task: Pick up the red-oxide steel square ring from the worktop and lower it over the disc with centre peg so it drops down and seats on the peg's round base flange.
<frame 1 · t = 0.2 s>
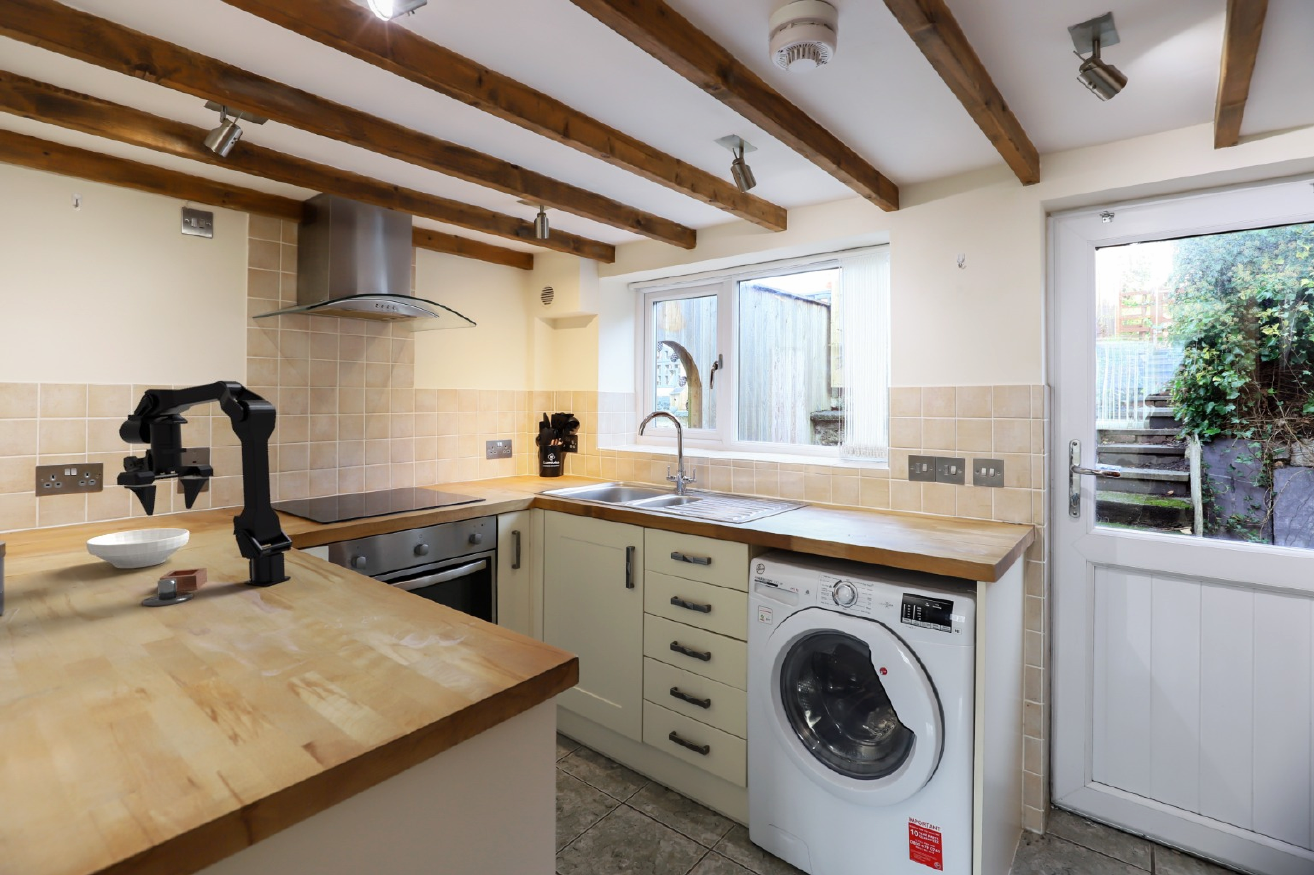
hand: (169, 512, 150), 14 cm above the worktop, fingers open, 9 cm apart
disc with centre peg: (168, 600, 131), on the worktop
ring: (184, 586, 140), on the worktop
bowl: (141, 566, 159), on the worktop
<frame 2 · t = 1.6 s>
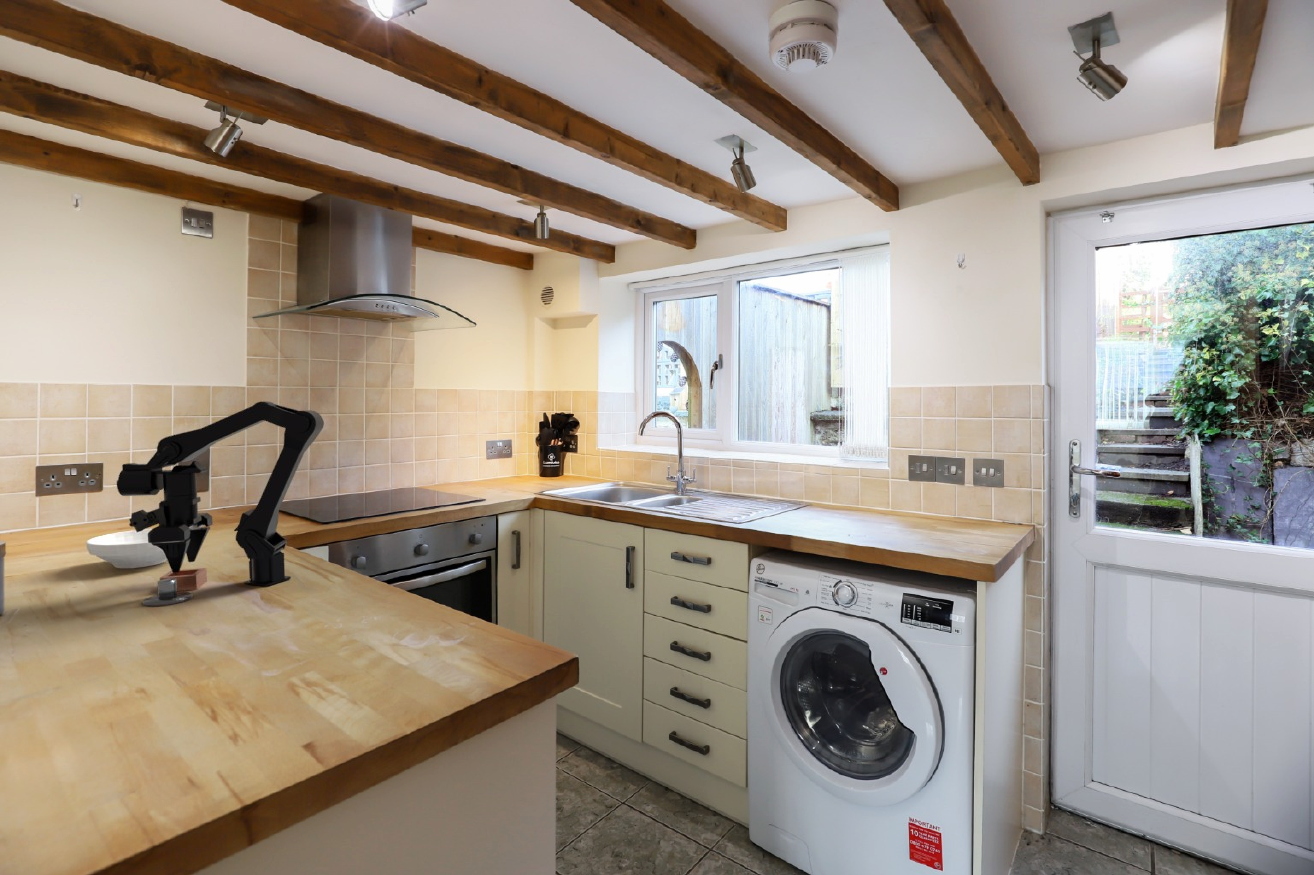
hand: (184, 566, 140), 4 cm above the worktop, fingers open, 9 cm apart
nothing on the worktop moved.
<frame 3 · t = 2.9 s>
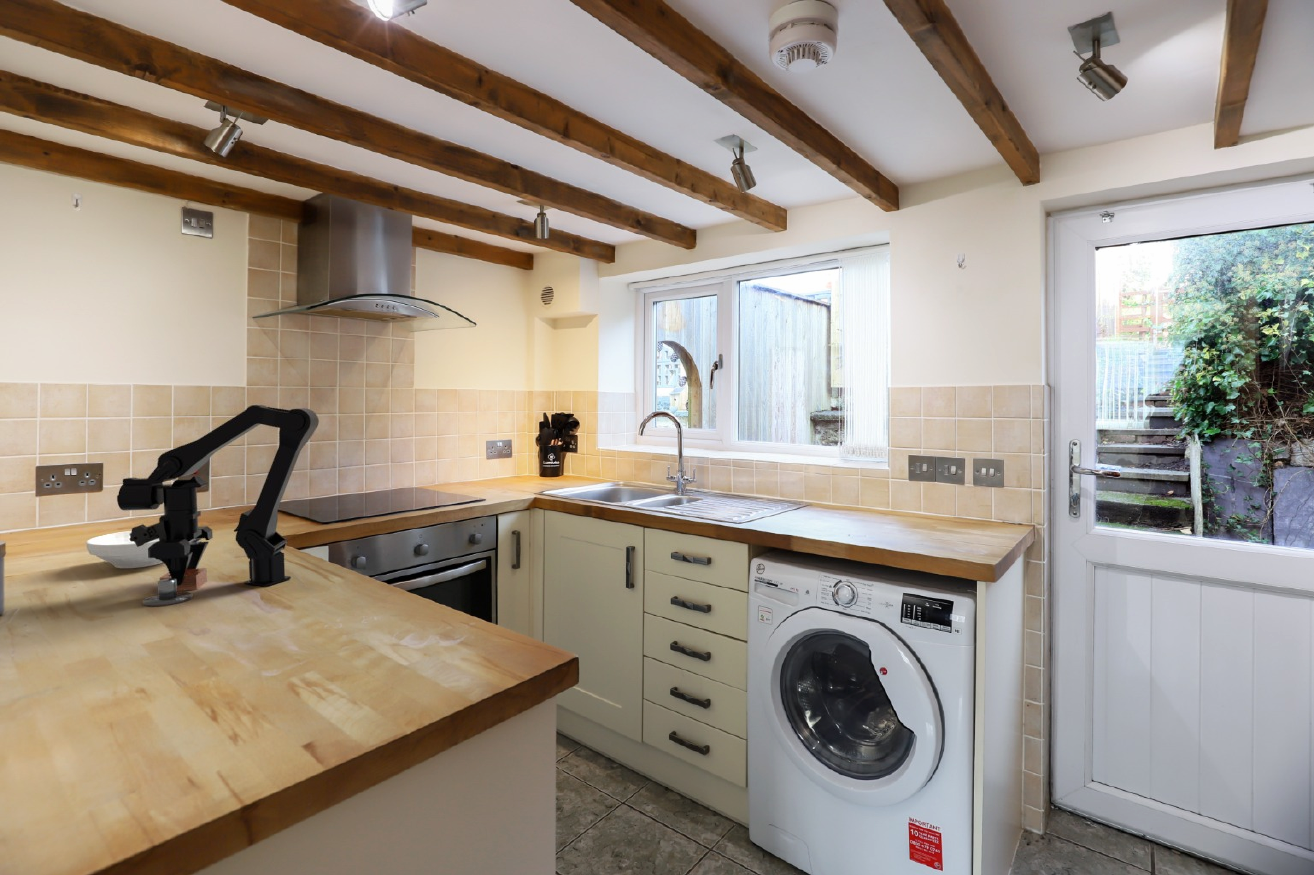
hand: (184, 581, 140), 1 cm above the worktop, fingers closed on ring, 6 cm apart
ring: (184, 586, 140), on the worktop, touching gripper
everything else where it was.
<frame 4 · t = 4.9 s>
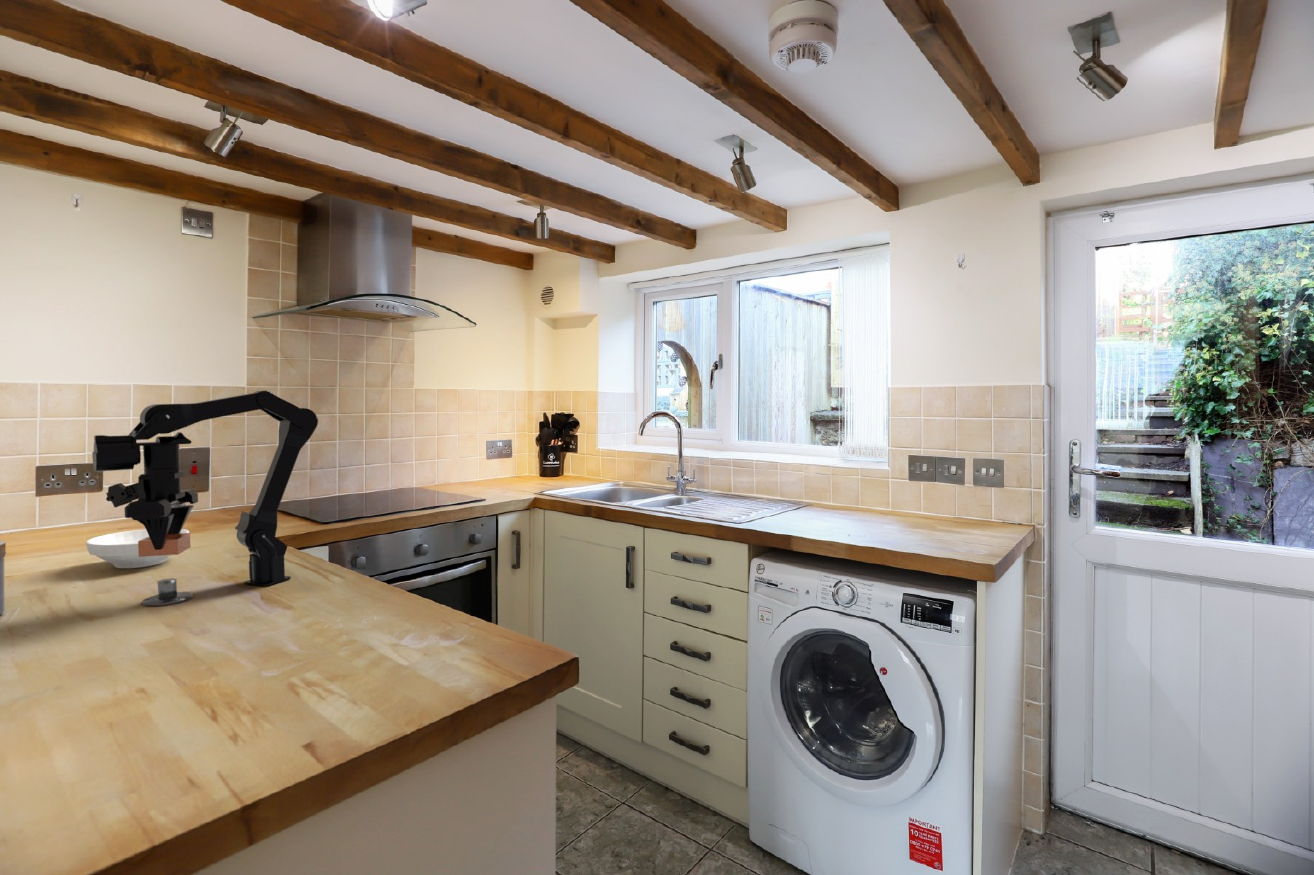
hand: (165, 545, 131), 11 cm above the worktop, fingers closed on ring, 6 cm apart
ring: (165, 551, 131), point 10 cm above the worktop, touching gripper
everything else where it was.
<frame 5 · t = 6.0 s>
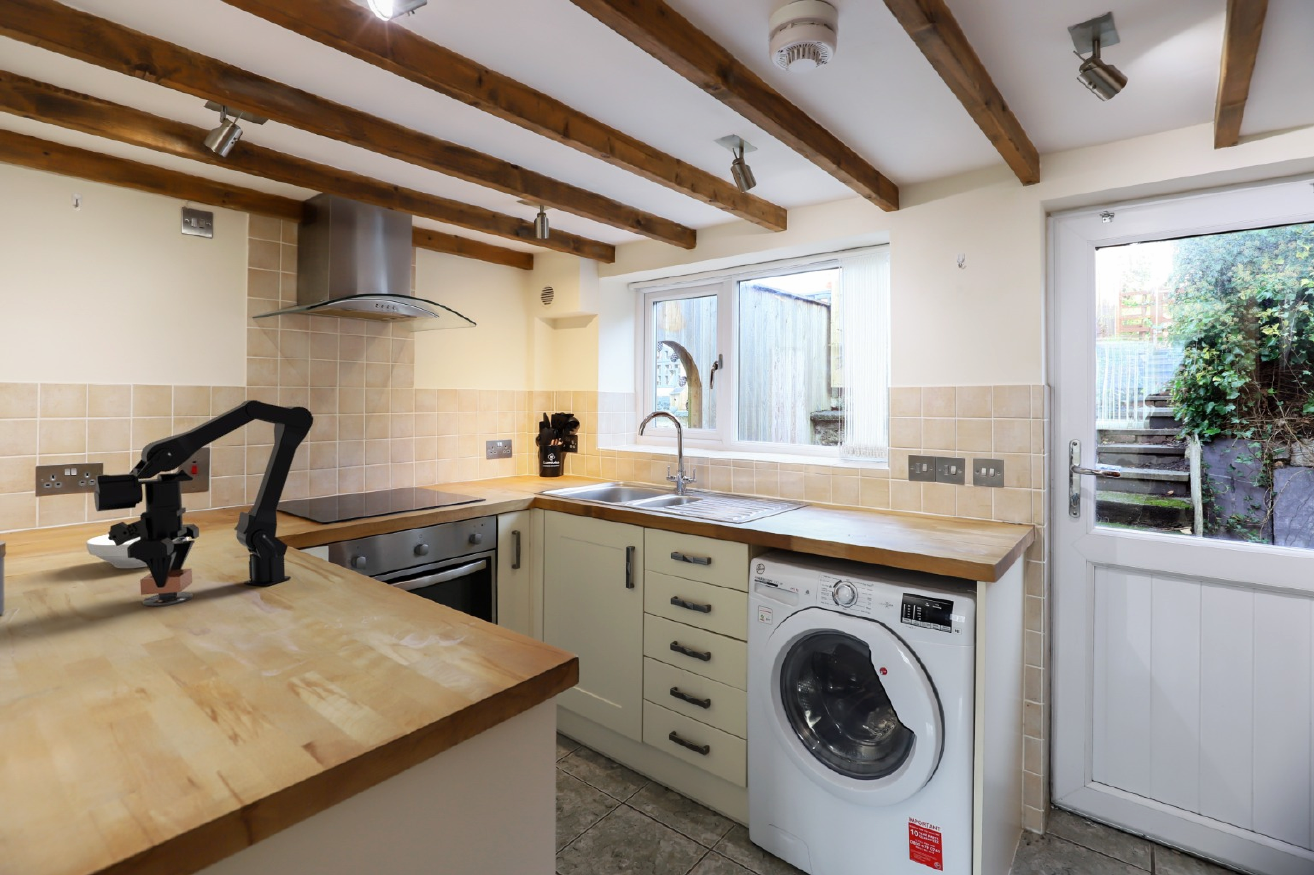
hand: (167, 582, 131), 4 cm above the worktop, fingers closed on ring, 6 cm apart
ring: (167, 588, 131), point 2 cm above the worktop, touching gripper
everything else where it was.
when the fingers open (3 cm above the worktop, at t = 7.0 s): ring drops 1 cm, resting on disc with centre peg.
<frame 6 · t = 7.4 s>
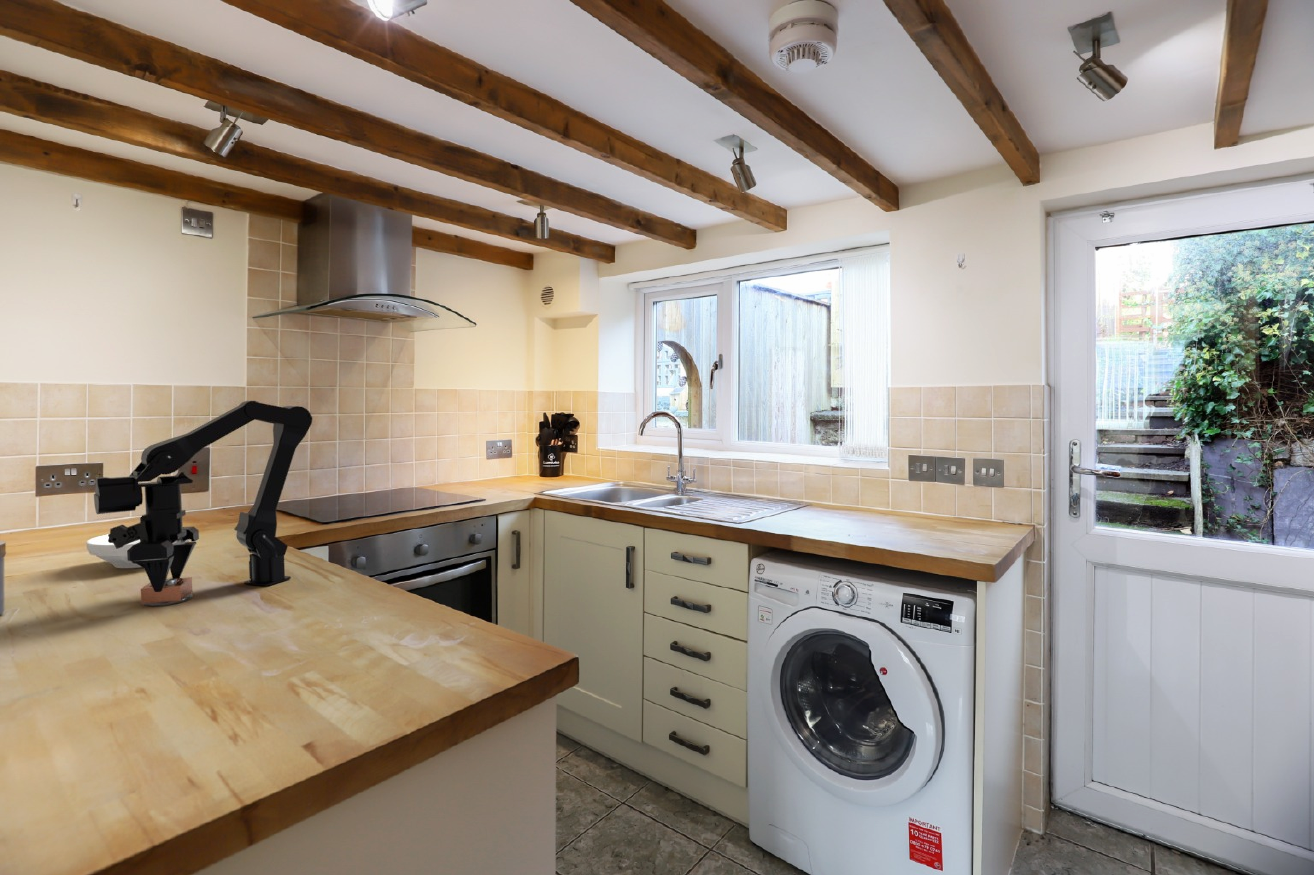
hand: (167, 585, 131), 3 cm above the worktop, fingers open, 9 cm apart
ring: (167, 597, 131), resting on disc with centre peg
everything else where it was.
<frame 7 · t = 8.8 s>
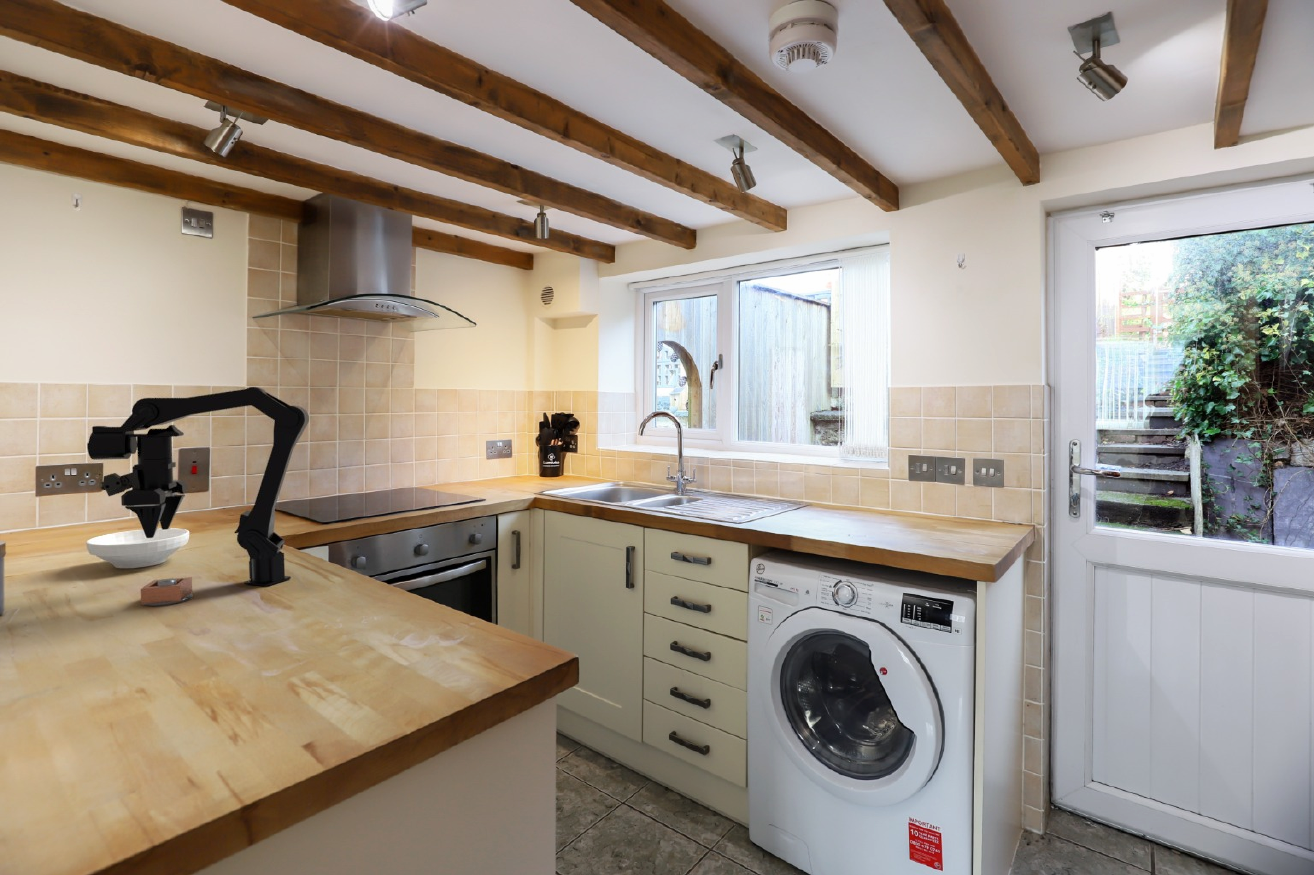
hand: (157, 533, 136), 12 cm above the worktop, fingers open, 9 cm apart
nothing on the worktop moved.
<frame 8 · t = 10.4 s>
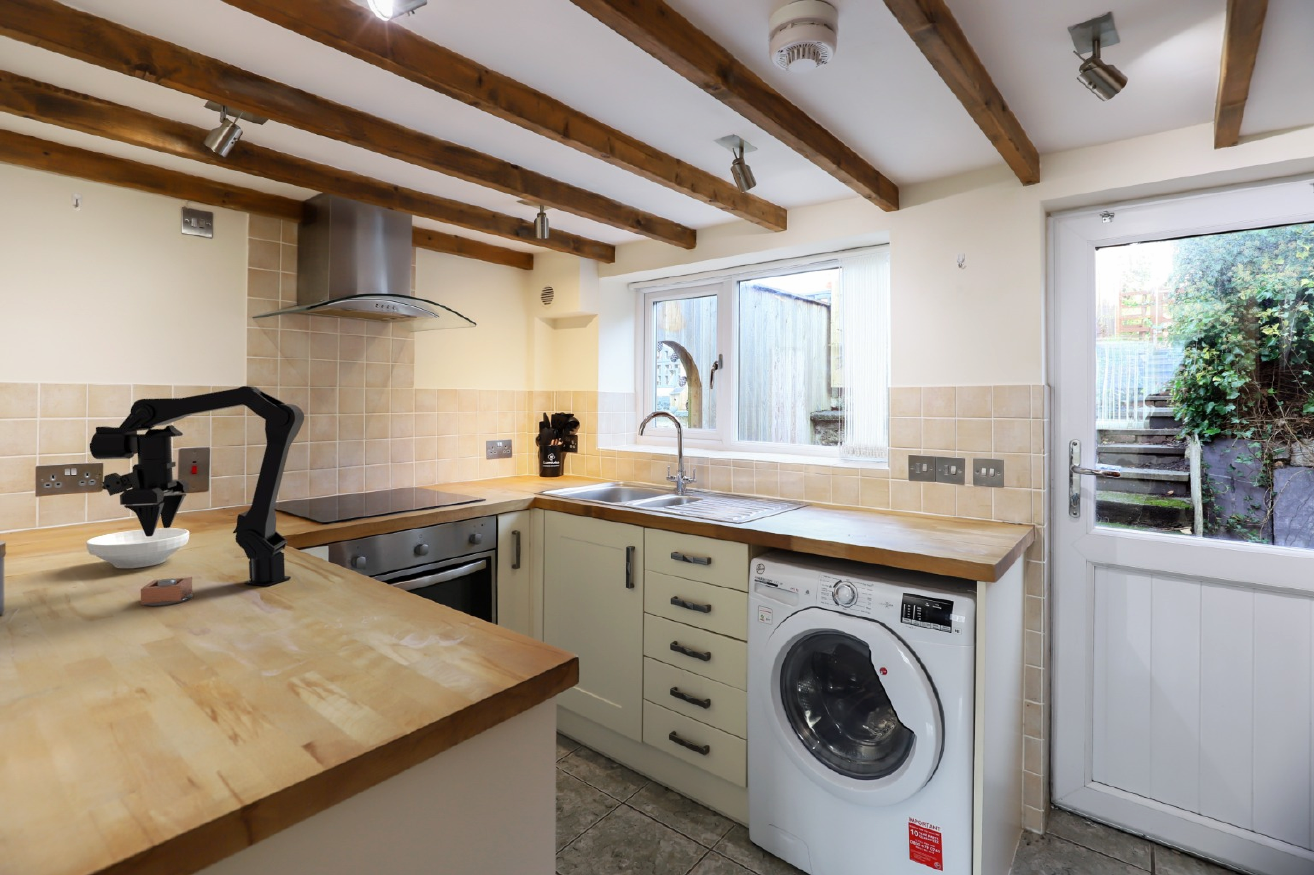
hand: (158, 531, 139), 12 cm above the worktop, fingers open, 9 cm apart
nothing on the worktop moved.
at the end: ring 0.1 cm off-centre on the disc with centre peg, point 0.5 cm above the disc with centre peg's base; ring tilted 0°; the gripper is holding nothing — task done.
